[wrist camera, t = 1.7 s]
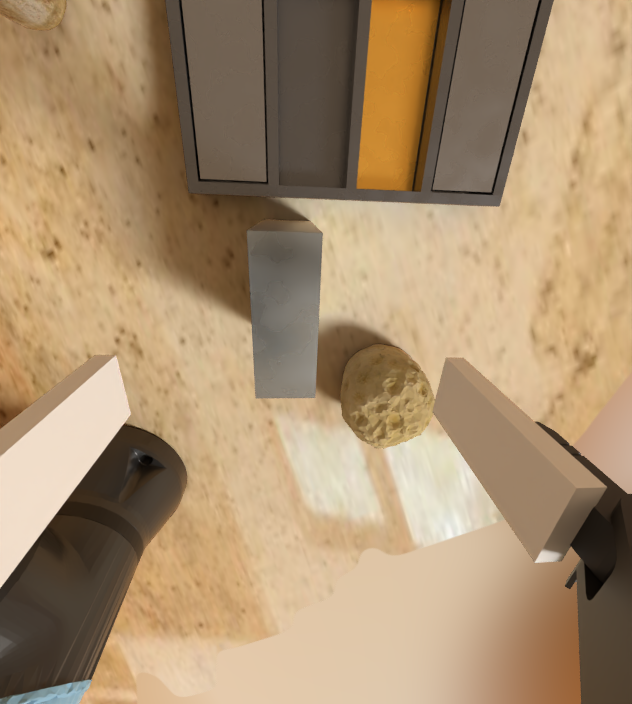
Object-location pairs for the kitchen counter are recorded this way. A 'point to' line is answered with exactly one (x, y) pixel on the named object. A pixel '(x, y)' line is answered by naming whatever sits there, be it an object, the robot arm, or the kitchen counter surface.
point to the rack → (354, 96)
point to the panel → (285, 306)
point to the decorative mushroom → (34, 12)
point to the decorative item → (385, 396)
